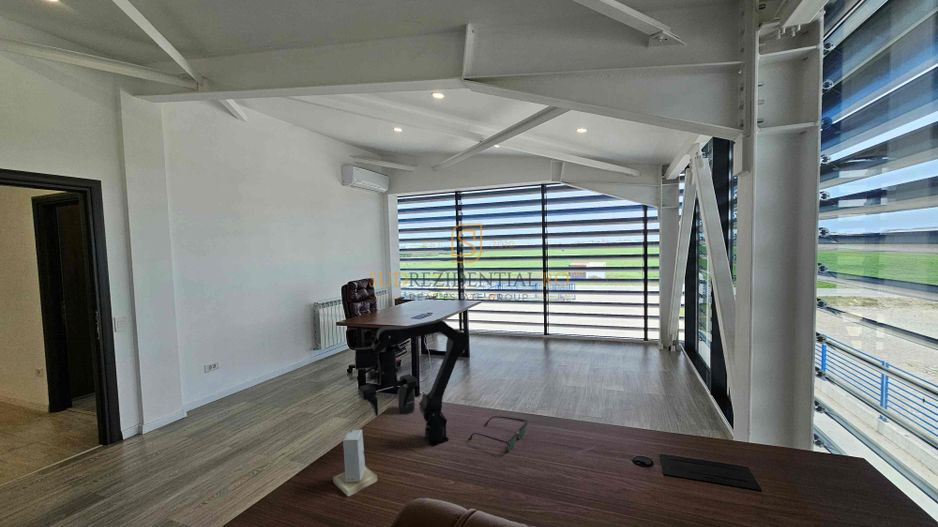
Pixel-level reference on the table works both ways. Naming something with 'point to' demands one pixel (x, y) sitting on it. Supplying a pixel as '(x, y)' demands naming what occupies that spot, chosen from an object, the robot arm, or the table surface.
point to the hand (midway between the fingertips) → (389, 411)
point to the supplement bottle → (407, 403)
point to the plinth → (354, 487)
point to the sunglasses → (512, 441)
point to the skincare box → (354, 456)
